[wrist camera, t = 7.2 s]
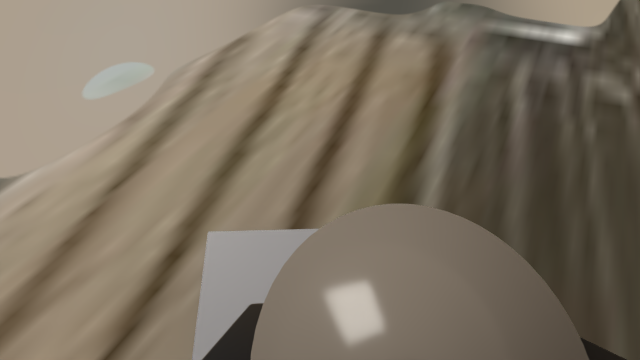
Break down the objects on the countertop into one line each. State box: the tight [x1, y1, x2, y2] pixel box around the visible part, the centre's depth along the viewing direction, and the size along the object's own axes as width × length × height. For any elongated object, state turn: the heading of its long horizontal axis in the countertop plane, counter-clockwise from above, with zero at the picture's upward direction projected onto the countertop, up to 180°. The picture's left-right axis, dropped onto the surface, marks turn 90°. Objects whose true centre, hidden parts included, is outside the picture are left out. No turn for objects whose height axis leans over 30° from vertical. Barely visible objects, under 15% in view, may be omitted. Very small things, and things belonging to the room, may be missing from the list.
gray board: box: [192, 229, 319, 360], centre depth 17 cm, size 14×14×1 cm
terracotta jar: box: [251, 204, 589, 360], centre depth 9 cm, size 5×5×10 cm
